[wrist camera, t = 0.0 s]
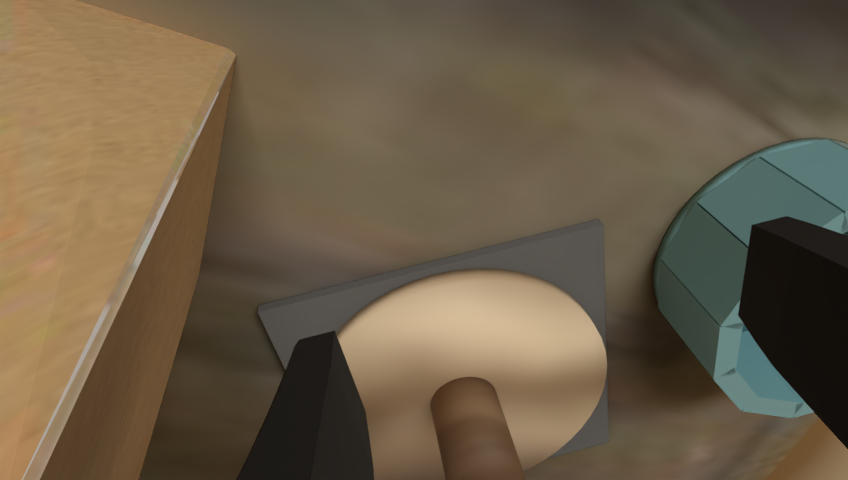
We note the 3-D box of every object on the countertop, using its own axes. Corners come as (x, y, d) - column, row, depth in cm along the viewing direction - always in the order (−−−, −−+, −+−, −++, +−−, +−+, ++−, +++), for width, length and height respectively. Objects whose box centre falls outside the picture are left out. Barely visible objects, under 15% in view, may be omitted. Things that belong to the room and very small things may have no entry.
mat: (605, 435, 29) (608, 442, 28) (351, 502, 28) (352, 509, 28) (598, 219, 21) (603, 224, 21) (258, 305, 21) (257, 312, 21)
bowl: (852, 306, 26) (940, 378, 23) (650, 359, 26) (705, 440, 22) (909, 110, 21) (1038, 161, 17) (656, 174, 21) (731, 240, 17)
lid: (602, 439, 28) (649, 533, 24) (356, 503, 28) (362, 609, 24) (595, 232, 21) (659, 316, 17) (268, 316, 21) (256, 419, 17)
